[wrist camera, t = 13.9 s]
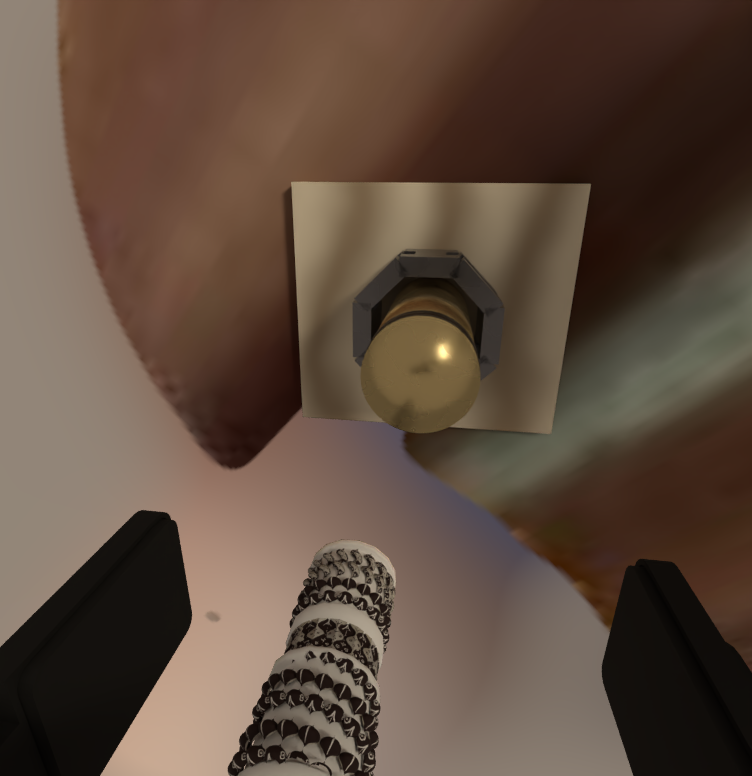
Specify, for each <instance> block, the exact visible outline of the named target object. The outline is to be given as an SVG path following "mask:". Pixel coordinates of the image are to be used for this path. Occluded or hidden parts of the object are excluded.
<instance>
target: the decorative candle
mask: <svg viewBox="0 0 752 776" xmlns="http://www.w3.org/2000/svg"><path fill="white" fill-rule="evenodd" d="M308 573H309V575H308V576H309V577H310V578H311V579H309V578H307V579H305V580H304V582H303V585H304V586H306V587H305V588H304V590H303V591H301V593H300V595H299V597H298V605H297V606H296V607H295V608H294V610H293V612H292V617H293V618H292V619H291V621H290V628H291V630H290V633H289V635H288V638H287V641H286V646H287V648H286V650H285V653H284V655H283V656H281V657H280V658H279V659H277V660H276V662H275V664H274V666H273V669H272V671H271V674H270V677H269V679H268V681H267V682H265V683H264V684H263V686H262V695H261V698H260V699H259V700H258V702H257V705H256V706H255V707H254V708H253V711H252V715H253V717H254V720H253V724H251V725H249V727H247V729H246V731H245V732H244V733H243V734H242V735H241V736H240V739H239V743H240V750H239V752H237V753H236V754H235V755H234V757H233V760H232V761H231V763H230V764H229V766H228V774H229V775H230V776H374V774H373V772H372V770H373V769H374V768H375V764H376V760H375V750H374V749H375V748H376V747H377V745H378V742H379V738H378V735H377V733H376V732H375V731H374V730H375V729H376V728H377V726H378V719H377V715H378V714H379V713H380V691H379V684H378V683H377V673H378V670H379V669H380V667H381V665H382V658H383V654H384V652H385V651H386V643H387V642H388V641H389V634H388V629H387V628H389V627H390V625H391V620H390V618H391V613H392V611H393V608H394V602H393V599H394V597H395V586H396V579H395V569H394V568H393V566H392V564H391V562H390V560H389V558H388V557H387V556H386V555H384V554H383V553H382V552H381V551H380V550H379V549H377V548H376V547H375V546H372V545H369V544H367V543H364V542H362V541H359V540H339V541H336V542H332V543H329V544H326V546H324V547H323V548H322V549H320V550H319V551H318V552H317V553H316V555H315V557H314V560H313V562H312V565H311V567H310V568H309V569H308ZM270 690H271V691H270ZM264 712H265V713H264ZM254 740H255V741H254ZM249 741H250V742H249ZM253 741H254V744H253V746H252V742H253ZM245 765H246V766H245ZM244 766H245V769H244Z"/></svg>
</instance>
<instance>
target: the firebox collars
mask: <svg viewBox="0 0 752 776" xmlns="http://www.w3.org/2000/svg"><path fill="white" fill-rule="evenodd" d="M404 277H429V278H453V279H454V280H455V281H456V282H457V284H458V285H459V286H460V287H461V288H462V289H463V290H464V291H465V292H466V294H467V295H468V296H469V297H470V298H471V299H472V300H473V301H474V302H475V304H476V305H477V306H478V308H477V319H476V331H475V337H474V343H475V346H476V349H477V353H478V357H479V363H480V375H481V376H480V381H481V380H482V379H484V378H485V377H486V376H488V375H489V374H490V373H491V372H493V371H494V370H495V369H496V365H499V357H500V348H501V339H502V330H503V320H504V311H505V308H504V306H503V302H502V301H501V299H500V298H499V297H498V296H497V292H496V290H495V289H494V288H493V287H492V286H491V284H490V283H489V282H488V281H487V280H486V279H485V278H484V276H483V275H482V274H481V273H480V272H479V271H478V270H477V269H476V267H475V266H474V265H473V264H472V263H471V262H470V261H469V260H468V258H467V257H466V256H465V255H464V254H463V253H462V252H460V253H459V252H458V250H443V249H406V250H405V251H402V252H401V253H400V254H399V255H397V256H396V257H395V258H394V259H393V260H392V261H391V262H390V263H389V264H388V265H387V266H386V267H385V268H384V269H383V270H382V271H381V272H380V273H379V274H378V275H377V276H376V277H375V278H374V279H373V280H372V281H371V282H370V283H369V284H368V285H367V286H366V287H365V288H364V289H363V290H362V291H361V292H360V293H359V294H358V295H357V296H356V297H355V298H354V299H355V300H354V301H353V303H352V305H353V357H356V359H355V362H356V363H357V364H358V365H359V366H360V367H361V366H362V361H363V358H364V356H365V353H366V350H367V348H368V346H369V344H370V342H371V340H372V338H373V336H374V335H375V334H376V332H377V331H378V329H379V327H380V325H381V324H382V298H383V297H384V296H385V295H386V294H387V293H388V292H389V291H390V290H391V289H392V288H393V287H395V286H396V285H397V284H398V283H399V282H400V281H401V280H402V279H403V278H404ZM495 364H496V365H495Z"/></svg>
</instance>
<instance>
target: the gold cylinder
mask: <svg viewBox="0 0 752 776" xmlns="http://www.w3.org/2000/svg"><path fill="white" fill-rule="evenodd" d="M480 376H481V375H480V363H479V357H478V353H477V349H476V346H475V343H474V338H473V333H472V329H471V324H470V319H469V314H468V309H467V305H466V302H465V299H464V297H463V295H462V293H461V292H460V291H459V289H458V288H457V287H456V286H455V285H453V284H452V283H450V282H449V281H447V280H444V279H442V278H429V277H422V278H418V279H415V280H413V281H411V282H409V283H408V284H406V285H405V286H404V287H403V288H402V289H401V290H400V291H399V293H398V294H397V296H396V298H395V299H394V301H393V303H392V305H391V307H390V309H389V311H388V312H387V314H386V316H385V318H384V320H383V322H382V324H381V325H380V327H379V329H378V331H377V332H376V334H375V335H374V336H373V338H372V340H371V342H370V344H369V346H368V348H367V350H366V353H365V356H364V358H363V361H362V366H361V374H360V378H361V386H362V391H363V394H364V397H365V399H366V401H367V403H368V404H369V406H370V407H371V409H372V410H373V411H374V412H375V413H376V415H377V416H378V417H380V418H381V419H382V420H383V421H385V422H386V423H388V424H389V425H391V426H393V427H395V428H398V429H400V430H403V431H407V432H412V433H431V432H436V431H440V430H443V429H445V428H448V427H450V426H452V425H453V424H455V423H456V422H458V421H459V420H460V419H462V418H463V417H464V416H465V415H466V414H467V413H468V411H469V410H470V409H471V407H472V406H473V404H474V402H475V400H476V398H477V395H478V392H479V388H480Z"/></svg>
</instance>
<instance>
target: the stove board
mask: <svg viewBox="0 0 752 776" xmlns="http://www.w3.org/2000/svg"><path fill="white" fill-rule="evenodd" d="M291 185H292V205H293V226H294V247H295V267H296V288H297V308H298V329H299V350H300V370H301V391H302V411H303V417H312V418H326V419H341V420H355V421H370V422H385V421H383V420H382V419H381V418H380V417H378V416H377V415H376V413H375V412H374V411H373V410H372V409H371V407H370V406H369V404H368V403H367V401H366V399H365V397H364V394H363V391H362V386H361V378H360V374H361V367H360V366H359V365H358V364H357V363H356V362H355V359H356V357H353V305H352V303H353V301H354V300H355V299H354V298H355V297H356V296H357V295H358V294H359V293H360V292H361V291H362V290H363V289H364V288H365V287H366V286H367V285H368V284H369V283H370V282H371V281H372V280H373V279H374V278H375V277H376V276H377V275H378V274H379V273H380V272H381V271H382V270H383V269H384V268H385V267H386V266H387V265H388V264H389V263H390V262H391V261H392V260H393V259H394V258H395V257H396V256H397V255H399V254H400V253H401V252H402V251H405V250H406V249H443V250H458V252H459V253H460V252H462V253H463V254H464V255H465V256H466V257H467V258H468V260H469V261H470V262H471V263H472V264H473V265H474V266H475V267H476V269H477V270H478V271H479V272H480V273H481V274H482V275H483V276H484V278H485V279H486V280H487V281H488V282H489V283H490V284H491V286H492V287H493V288H494V289H495V290H496V292H497V296H498V297H499V298H500V299H501V301H502V302H503V306H504V308H505V311H504V320H503V330H502V339H501V348H500V357H499V365H496V364H495V365H496V369H495V370H494V371H493V372H491V373H490V374H489V375H488V376H486V377H485V378H484V379H482V380H481V381H480V388H479V392H478V395H477V398H476V400H475V402H474V404H473V406H472V407H471V409H470V410H469V411H468V413H467V414H466V415H465V416H464V417H463V418H462V419H460V420H459V421H458V422H456V423H455V424H453V425H452V426H450V427H457V428H472V429H486V430H501V431H516V432H530V433H545V434H551V431H552V425H553V419H554V413H555V406H556V400H557V394H558V388H559V381H560V375H561V369H562V363H563V356H564V350H565V344H566V338H567V331H568V325H569V319H570V313H571V306H572V300H573V294H574V288H575V281H576V275H577V269H578V263H579V256H580V250H581V244H582V238H583V231H584V225H585V219H586V213H587V206H588V200H589V194H590V188H591V184H540V183H379V182H291ZM418 278H422V277H404V278H403V279H402V280H401V281H400V282H399V283H398V284H397V285H396V286H395V287H393V288H392V289H391V290H390V291H389V292H388V293H387V294H386V295H385V296H384V297H383V298H382V322H383V320H384V318H385V316H386V314H387V312H388V311H389V309H390V307H391V305H392V303H393V301H394V299H395V298H396V296H397V294H398V293H399V291H400V290H401V289H402V288H403V287H404V286H405V285H406V284H408V283H409V282H411V281H413V280H415V279H418ZM442 279H444V280H447V281H449V282H450V283H452V284H453V285H455V286H456V287H457V288H458V289H459V291H460V292H461V293H462V295H463V297H464V299H465V302H466V305H467V309H468V314H469V319H470V324H471V329H472V333H473V338H474V337H475V331H476V319H477V308H478V306H477V305H476V304H475V302H474V301H473V300H472V299H471V298H470V297H469V296H468V295H467V294H466V292H465V291H464V290H463V289H462V288H461V287H460V286H459V285H458V284H457V282H456V281H455V280H454V279H453V278H442ZM385 423H386V422H385Z"/></svg>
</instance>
